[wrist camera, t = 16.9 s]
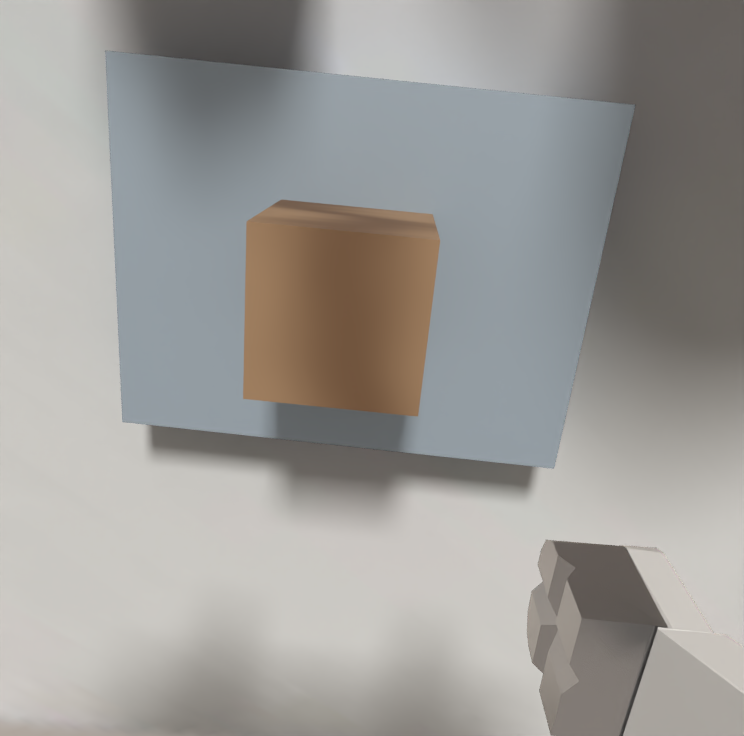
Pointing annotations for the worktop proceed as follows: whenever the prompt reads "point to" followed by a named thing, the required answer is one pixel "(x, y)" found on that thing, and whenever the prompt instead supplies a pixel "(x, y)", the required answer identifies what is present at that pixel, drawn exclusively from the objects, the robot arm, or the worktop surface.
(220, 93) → the plate
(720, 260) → the worktop surface
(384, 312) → the walnut cube
